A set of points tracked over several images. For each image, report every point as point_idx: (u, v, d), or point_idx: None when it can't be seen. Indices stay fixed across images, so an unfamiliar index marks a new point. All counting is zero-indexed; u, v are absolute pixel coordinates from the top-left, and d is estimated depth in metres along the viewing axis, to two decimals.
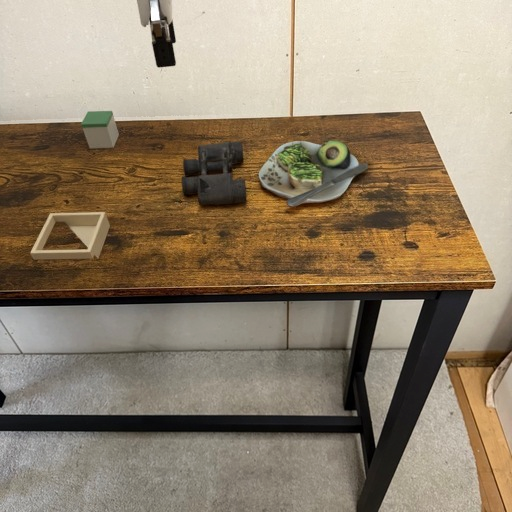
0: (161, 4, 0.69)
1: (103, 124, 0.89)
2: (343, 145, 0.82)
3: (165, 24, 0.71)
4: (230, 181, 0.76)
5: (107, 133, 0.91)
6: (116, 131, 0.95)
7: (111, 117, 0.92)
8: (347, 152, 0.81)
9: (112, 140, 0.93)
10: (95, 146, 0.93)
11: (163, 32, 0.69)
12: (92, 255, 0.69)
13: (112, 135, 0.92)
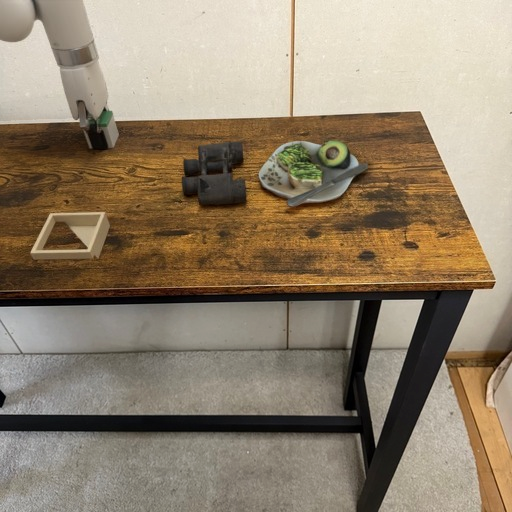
0: (86, 105, 0.84)
1: (103, 124, 0.89)
2: (343, 145, 0.82)
3: (95, 120, 0.88)
4: (230, 181, 0.76)
5: (107, 133, 0.91)
6: (116, 131, 0.95)
7: (111, 117, 0.92)
8: (347, 152, 0.81)
9: (112, 140, 0.93)
10: None
11: (91, 127, 0.86)
12: (92, 255, 0.69)
13: (112, 135, 0.92)
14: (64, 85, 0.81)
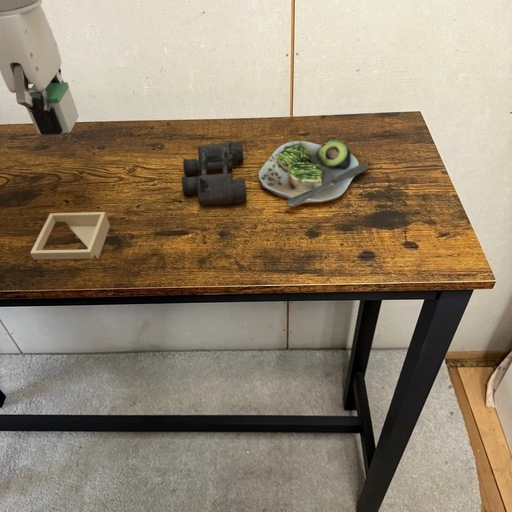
0: (25, 71, 0.60)
1: (53, 99, 0.65)
2: (343, 145, 0.82)
3: (40, 94, 0.63)
4: (230, 181, 0.76)
5: (60, 112, 0.67)
6: (74, 111, 0.71)
7: (66, 91, 0.68)
8: (347, 152, 0.81)
9: (68, 122, 0.68)
10: None
11: (35, 103, 0.62)
12: (92, 255, 0.69)
13: (67, 115, 0.68)
14: None
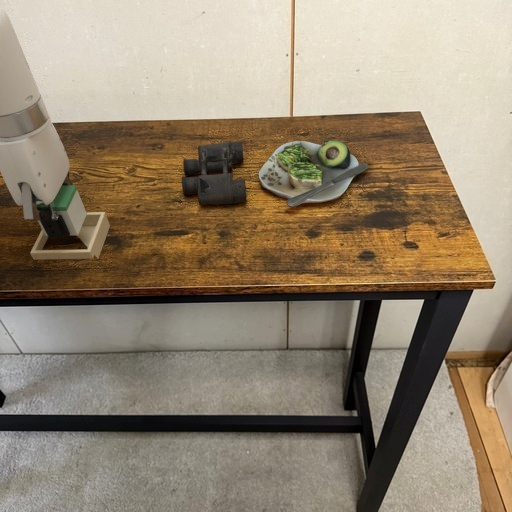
0: (33, 189, 0.59)
1: (61, 208, 0.64)
2: (343, 145, 0.82)
3: (48, 205, 0.63)
4: (230, 181, 0.76)
5: (68, 218, 0.66)
6: (82, 210, 0.70)
7: (74, 194, 0.67)
8: (347, 152, 0.81)
9: (76, 225, 0.68)
10: None
11: (42, 216, 0.62)
12: (92, 255, 0.69)
13: (75, 218, 0.67)
14: None
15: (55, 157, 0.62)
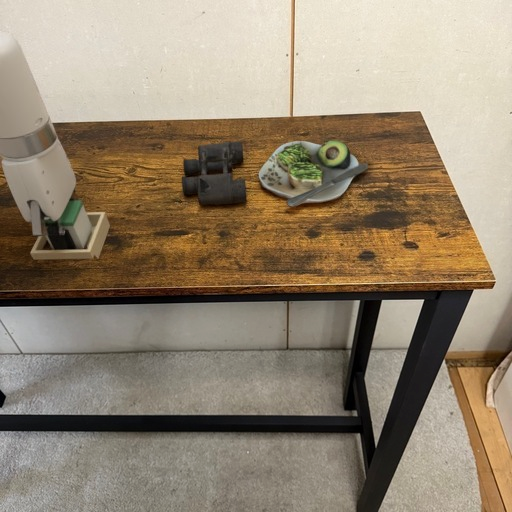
0: (42, 206, 0.61)
1: (68, 223, 0.66)
2: (343, 145, 0.82)
3: (56, 221, 0.65)
4: (230, 181, 0.76)
5: (74, 233, 0.68)
6: (88, 224, 0.72)
7: (80, 209, 0.69)
8: (347, 152, 0.81)
9: (82, 239, 0.70)
10: None
11: (50, 232, 0.64)
12: (92, 255, 0.69)
13: (81, 233, 0.70)
14: (9, 182, 0.59)
15: (62, 175, 0.64)
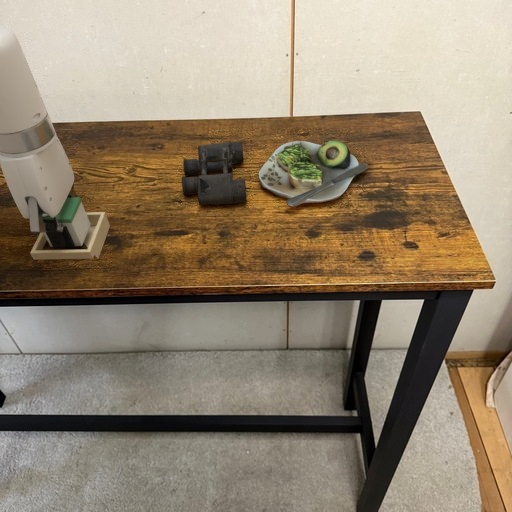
0: (39, 203, 0.61)
1: (66, 220, 0.66)
2: (343, 145, 0.82)
3: (54, 217, 0.64)
4: (230, 181, 0.76)
5: (72, 230, 0.68)
6: (86, 221, 0.72)
7: (78, 206, 0.69)
8: (347, 152, 0.81)
9: (80, 236, 0.69)
10: None
11: (48, 228, 0.63)
12: (92, 255, 0.69)
13: (79, 230, 0.69)
14: (6, 178, 0.58)
15: (61, 171, 0.64)
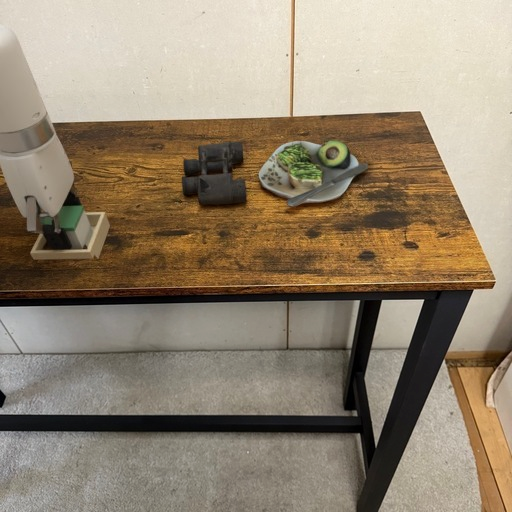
0: (39, 202, 0.60)
1: (69, 228, 0.67)
2: (343, 145, 0.82)
3: (52, 217, 0.64)
4: (230, 181, 0.76)
5: (75, 238, 0.69)
6: (89, 229, 0.73)
7: (81, 215, 0.70)
8: (347, 152, 0.81)
9: (83, 244, 0.71)
10: None
11: (45, 230, 0.62)
12: (92, 255, 0.69)
13: (82, 237, 0.70)
14: (6, 177, 0.58)
15: (60, 170, 0.64)
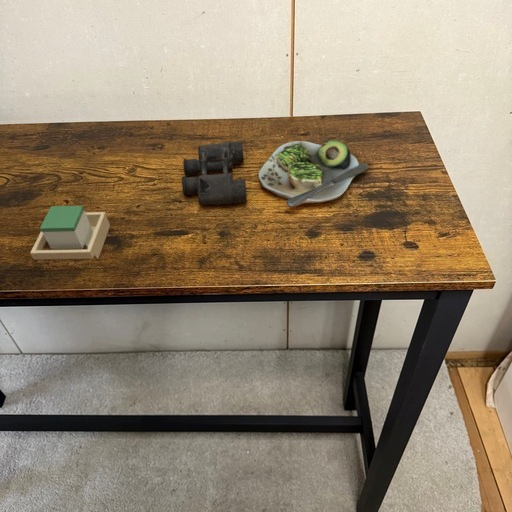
0: None
1: (69, 228, 0.67)
2: (343, 145, 0.82)
3: None
4: (230, 181, 0.76)
5: (75, 238, 0.69)
6: (89, 229, 0.73)
7: (81, 215, 0.70)
8: (347, 152, 0.81)
9: (83, 244, 0.71)
10: None
11: None
12: (92, 255, 0.69)
13: (82, 237, 0.70)
14: None
15: None
